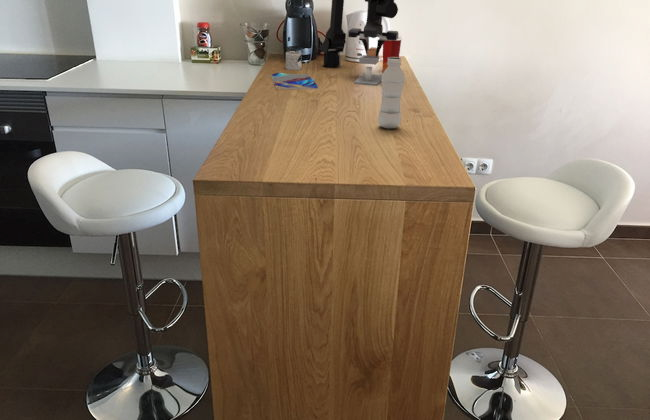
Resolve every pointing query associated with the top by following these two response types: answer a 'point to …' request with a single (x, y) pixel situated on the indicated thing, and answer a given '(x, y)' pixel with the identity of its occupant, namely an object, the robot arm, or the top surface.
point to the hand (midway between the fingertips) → (372, 56)
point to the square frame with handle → (370, 57)
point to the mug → (293, 60)
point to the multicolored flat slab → (293, 81)
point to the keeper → (369, 78)
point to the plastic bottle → (391, 94)
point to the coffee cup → (391, 50)
